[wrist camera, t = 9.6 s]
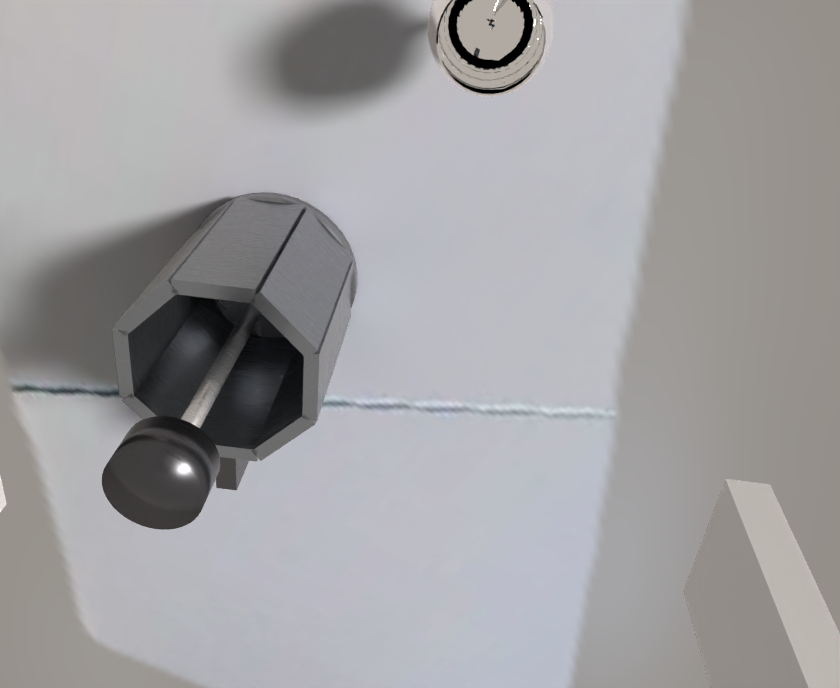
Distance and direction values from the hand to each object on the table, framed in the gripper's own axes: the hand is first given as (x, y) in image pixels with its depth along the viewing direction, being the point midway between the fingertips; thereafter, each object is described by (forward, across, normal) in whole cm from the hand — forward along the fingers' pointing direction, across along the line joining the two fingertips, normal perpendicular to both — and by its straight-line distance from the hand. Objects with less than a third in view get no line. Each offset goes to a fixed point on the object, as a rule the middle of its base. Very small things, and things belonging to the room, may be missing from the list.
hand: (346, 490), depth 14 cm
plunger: (+35, -10, -14) cm, 39 cm away
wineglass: (+37, +2, +4) cm, 37 cm away
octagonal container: (+37, -10, -16) cm, 41 cm away
